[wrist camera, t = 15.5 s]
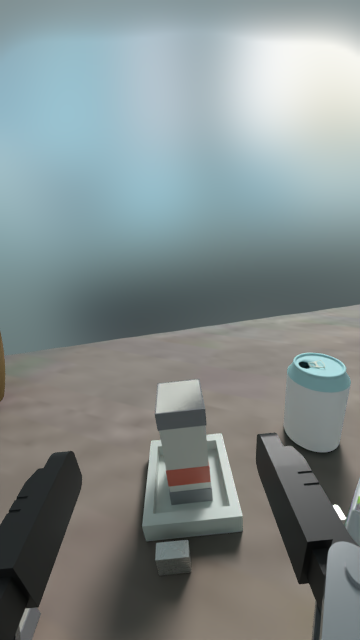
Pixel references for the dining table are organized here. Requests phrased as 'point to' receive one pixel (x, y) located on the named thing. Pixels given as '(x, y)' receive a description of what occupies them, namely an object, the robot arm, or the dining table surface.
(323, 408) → the can
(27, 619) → the block
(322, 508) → the robot arm
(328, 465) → the dining table surface
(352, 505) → the syrup box
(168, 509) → the tray
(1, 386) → the plant pot
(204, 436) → the marked fuse
